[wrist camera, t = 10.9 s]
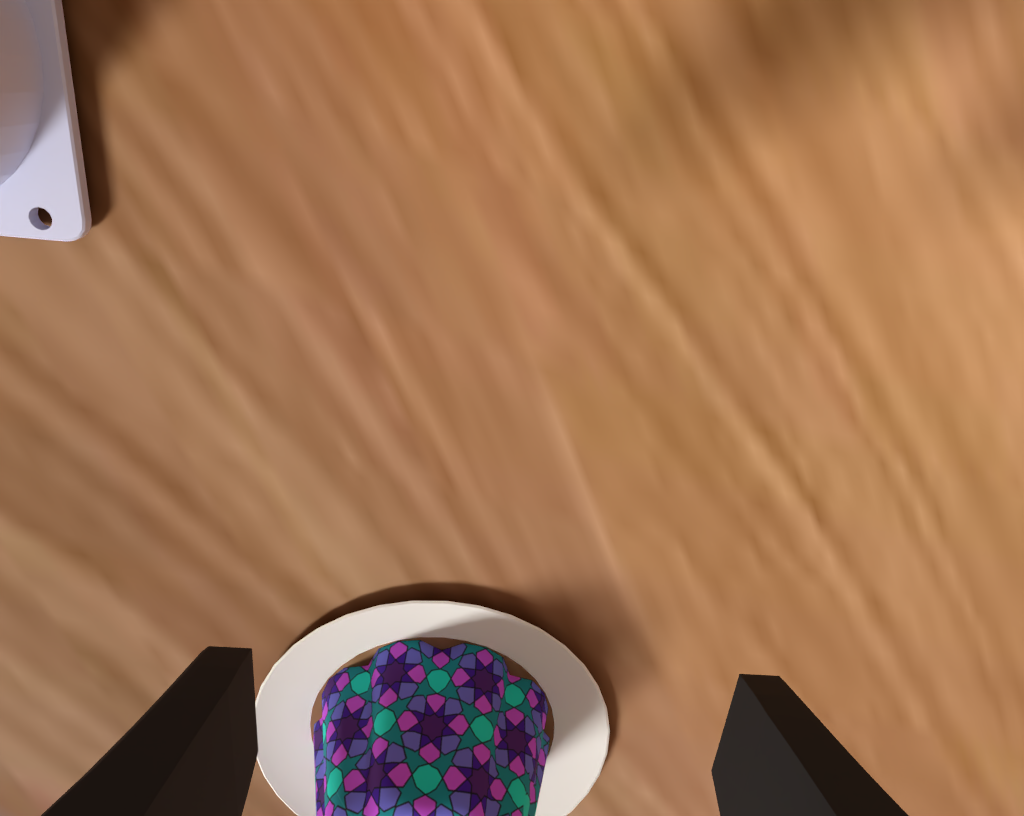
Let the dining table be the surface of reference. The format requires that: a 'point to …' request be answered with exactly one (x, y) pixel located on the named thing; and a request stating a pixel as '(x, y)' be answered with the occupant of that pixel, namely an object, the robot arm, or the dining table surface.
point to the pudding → (430, 718)
